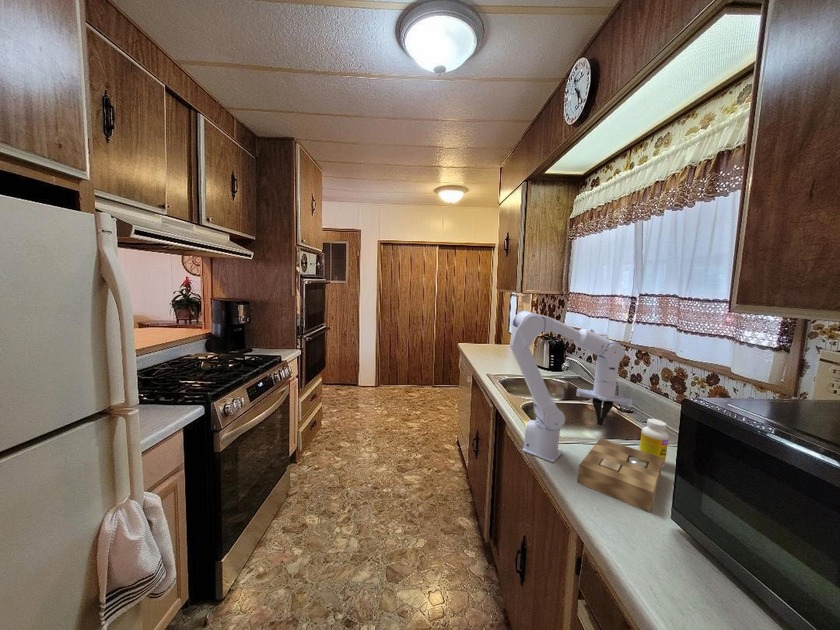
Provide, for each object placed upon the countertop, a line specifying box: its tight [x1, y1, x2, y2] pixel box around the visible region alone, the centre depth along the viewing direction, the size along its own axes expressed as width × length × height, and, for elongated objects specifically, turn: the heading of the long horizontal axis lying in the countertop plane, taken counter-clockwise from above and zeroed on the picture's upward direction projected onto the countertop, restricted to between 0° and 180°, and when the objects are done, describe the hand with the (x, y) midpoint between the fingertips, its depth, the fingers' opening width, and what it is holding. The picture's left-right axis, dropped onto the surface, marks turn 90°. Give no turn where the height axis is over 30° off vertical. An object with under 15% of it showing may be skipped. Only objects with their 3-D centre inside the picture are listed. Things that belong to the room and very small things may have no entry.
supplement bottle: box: [638, 418, 670, 468], centre depth 101 cm, size 7×7×13 cm
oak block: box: [576, 438, 663, 513], centre depth 92 cm, size 16×22×5 cm
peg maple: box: [600, 459, 621, 472], centre depth 89 cm, size 4×4×5 cm
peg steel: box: [629, 457, 647, 468], centre depth 92 cm, size 4×4×5 cm
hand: (600, 424), depth 102 cm, fingers closed
